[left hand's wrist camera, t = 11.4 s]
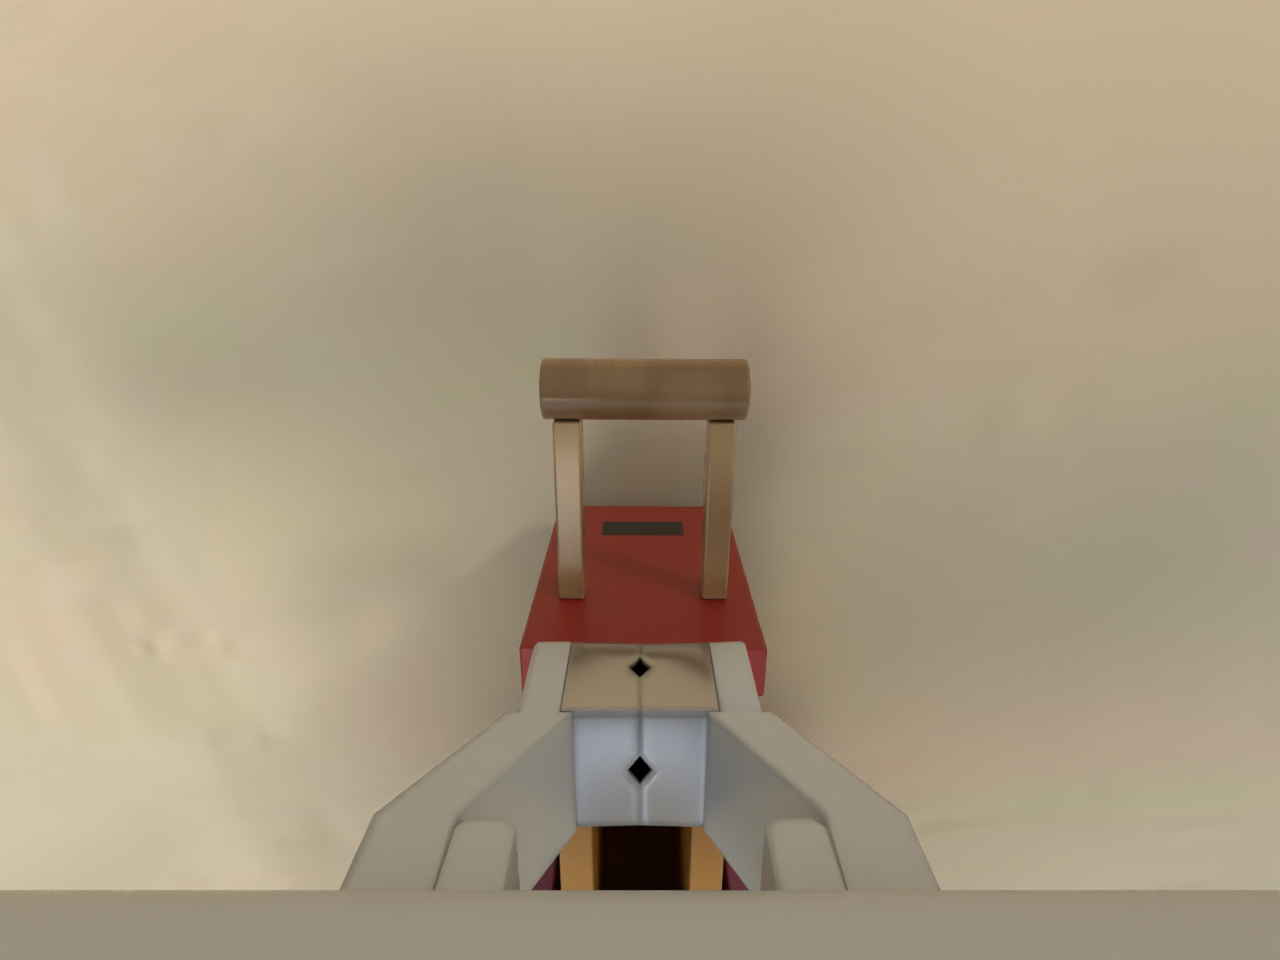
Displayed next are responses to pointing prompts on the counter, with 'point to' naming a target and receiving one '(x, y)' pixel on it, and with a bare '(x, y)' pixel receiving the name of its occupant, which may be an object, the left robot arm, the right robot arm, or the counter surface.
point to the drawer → (643, 575)
